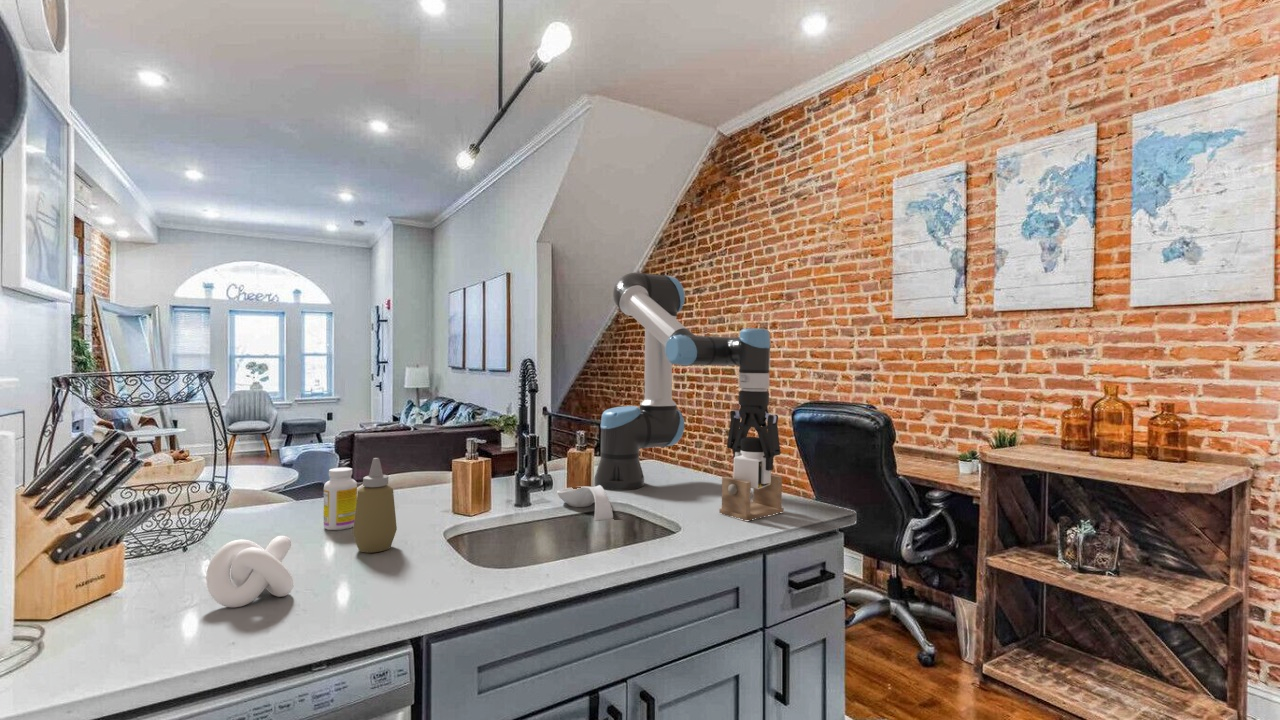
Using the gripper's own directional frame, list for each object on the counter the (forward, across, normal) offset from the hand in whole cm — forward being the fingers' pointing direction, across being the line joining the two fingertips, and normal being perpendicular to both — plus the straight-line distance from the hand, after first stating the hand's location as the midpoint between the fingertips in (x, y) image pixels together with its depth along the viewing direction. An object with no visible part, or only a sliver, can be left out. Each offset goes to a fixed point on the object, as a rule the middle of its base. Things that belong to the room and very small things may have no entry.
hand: (752, 480), depth 150 cm
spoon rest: (+9, -27, -31) cm, 43 cm away
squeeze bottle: (+9, -26, -83) cm, 87 cm away
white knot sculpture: (+9, -13, -104) cm, 105 cm away
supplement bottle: (+9, -46, -85) cm, 97 cm away
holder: (+8, 0, 0) cm, 8 cm away
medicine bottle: (+1, 0, 0) cm, 1 cm away
